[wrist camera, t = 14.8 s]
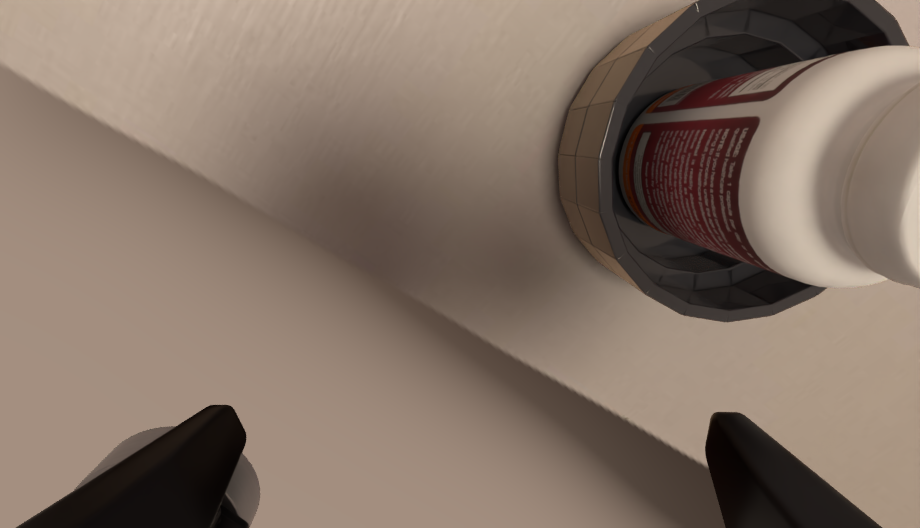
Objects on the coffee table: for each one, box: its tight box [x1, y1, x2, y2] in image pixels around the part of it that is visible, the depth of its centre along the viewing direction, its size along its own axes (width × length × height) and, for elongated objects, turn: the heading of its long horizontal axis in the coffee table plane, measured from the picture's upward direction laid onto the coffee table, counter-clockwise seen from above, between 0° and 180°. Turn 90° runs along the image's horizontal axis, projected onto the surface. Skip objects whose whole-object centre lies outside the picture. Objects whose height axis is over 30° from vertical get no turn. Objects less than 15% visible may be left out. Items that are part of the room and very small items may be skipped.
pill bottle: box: [619, 46, 920, 288], centre depth 13 cm, size 6×6×11 cm
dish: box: [558, 0, 909, 322], centre depth 17 cm, size 11×11×5 cm
